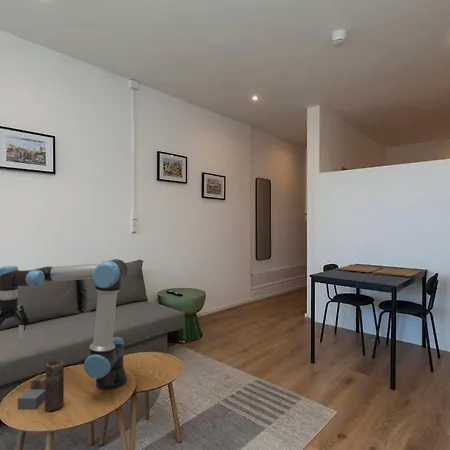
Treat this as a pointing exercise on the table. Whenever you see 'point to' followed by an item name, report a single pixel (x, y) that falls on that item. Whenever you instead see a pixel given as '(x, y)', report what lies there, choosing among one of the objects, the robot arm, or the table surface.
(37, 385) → the walnut block
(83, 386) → the table surface
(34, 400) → the base block
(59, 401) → the candle
